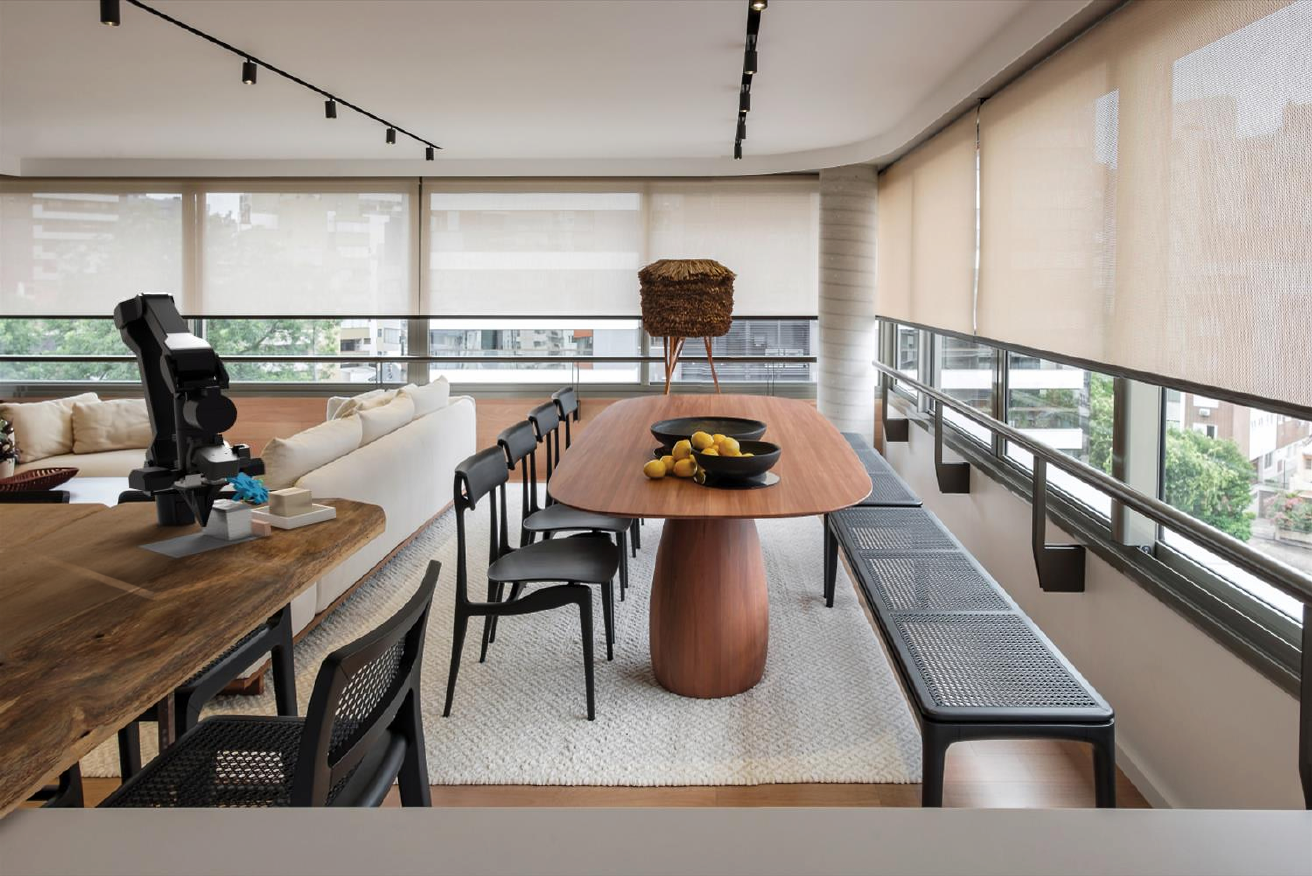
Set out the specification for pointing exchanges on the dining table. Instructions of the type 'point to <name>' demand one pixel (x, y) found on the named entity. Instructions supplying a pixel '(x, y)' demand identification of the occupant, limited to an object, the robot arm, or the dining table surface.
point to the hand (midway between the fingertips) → (203, 526)
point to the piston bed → (203, 542)
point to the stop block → (290, 502)
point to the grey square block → (229, 520)
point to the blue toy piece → (249, 488)
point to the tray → (316, 516)
